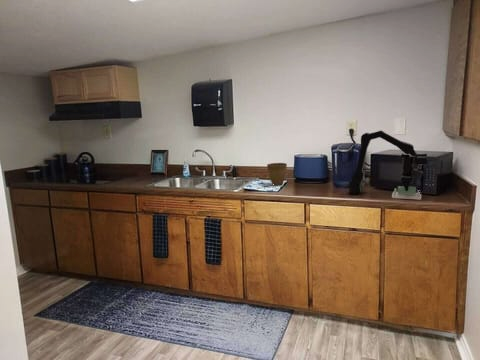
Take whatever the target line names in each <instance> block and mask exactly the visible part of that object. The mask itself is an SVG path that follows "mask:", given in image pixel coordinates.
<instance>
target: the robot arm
mask: <svg viewBox="0 0 480 360" xmlns="http://www.w3.org/2000/svg"><path fill="white" fill-rule="evenodd" d="M378 138H379V139H382V140H384V141H385V142H387V143H390V144H392V146H393V145H394V146H395V147H396V148H398V149H399V150H400V151H401V152H402V153H401V155H399V158H402V173H401V177H400V181H401V183H402V186H404V188H405V191H408V188H409V187H410V183H412V182H413V180H414V176H416V177H418V178H422V176H423V175H424V171H423V170H422V168H420V167H418V168H414V164H415V165H416V166H427V165H428V153H417V152H416V151H415V149H414V145H413V144H411V143H410V142H409V143H408V142H405V141H402V140H400V139H398V138H396V137H394V136H392V135H390V134H388V133H386V132H385V131H383V130H378V131H375V132H371V133H369V132H364V133H363V134H362V135H361V136H360V149H359V150H360V151H359V155H358V159H357V164H356V169H355V171H354V173H353V176H352V179H350V181H349V182H348V186H349V188H348V190H349V191H348V195H355V196H356V195H357V196H358V195H360V194H361V193H362V192H361V185H360V182H361V181H362V180H363V179H364V177H365V175H366V171H364V166H365V163H366V162H365V160H366V157H367V156H366V155H367V152H368V147H369V145H370V144H371V141H372V140H375V139H378Z"/></svg>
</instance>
